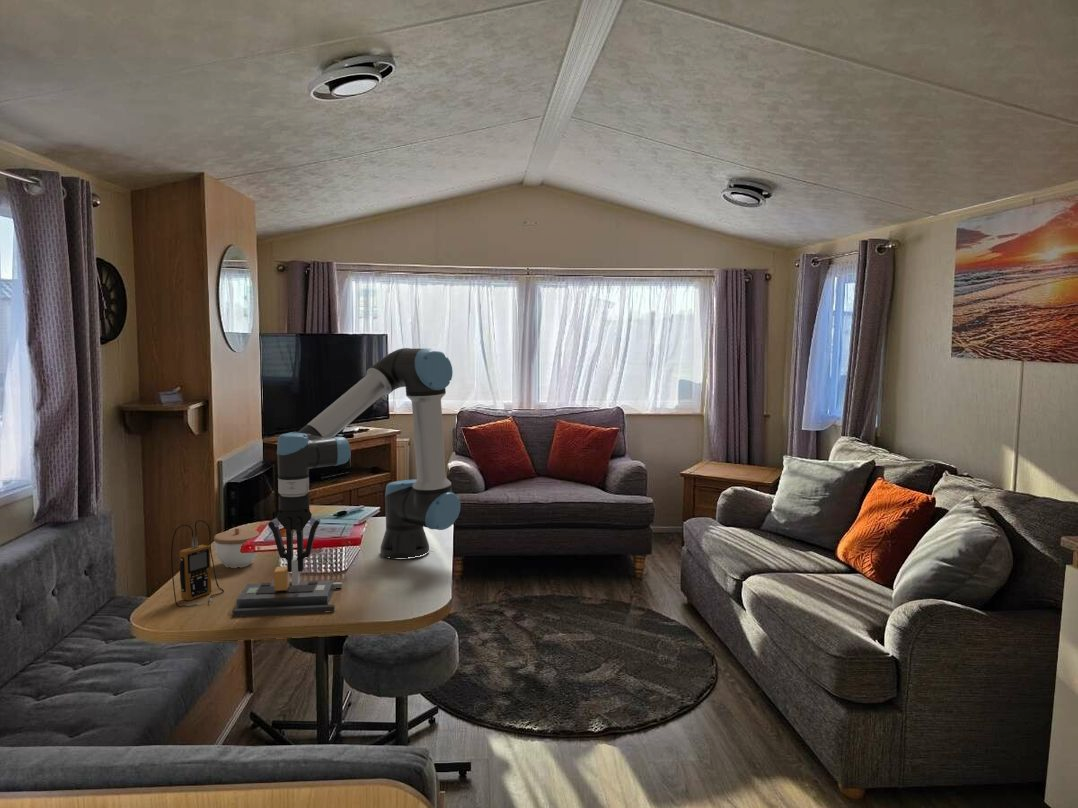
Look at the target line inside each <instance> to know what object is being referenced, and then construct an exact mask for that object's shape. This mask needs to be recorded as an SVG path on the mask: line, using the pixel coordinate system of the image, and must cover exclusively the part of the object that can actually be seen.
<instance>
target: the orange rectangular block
mask: <svg viewBox="0 0 1078 808" xmlns="http://www.w3.org/2000/svg"><path fill="white" fill-rule="evenodd" d="M289 582H290V572H288V570H287V566H276V568H275V570H274V571H273V583H274V588H275V591H280V590H287V589H288V587H289Z"/></svg>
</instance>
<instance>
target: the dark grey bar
mask: <svg viewBox="0 0 1078 808" xmlns="http://www.w3.org/2000/svg"><path fill="white" fill-rule="evenodd" d="M335 608H336V607H335V604H328V605H315V606H292V607H268V608H245V609H237V608H234V609H233V610H232V617H252V616H253V617H255V616H275V615H277V616H279V615H299V614H301V613H302V614H316V613H315V612H325V611H334V612H335V610H334V609H335ZM325 613H326V612H325Z"/></svg>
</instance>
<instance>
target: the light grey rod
mask: <svg viewBox="0 0 1078 808" xmlns="http://www.w3.org/2000/svg"><path fill="white" fill-rule="evenodd" d="M336 588H342V589H343V582H341V581H340V582H339V581H338V582H337V581H336V582H334V581H333V590H337V589H336Z"/></svg>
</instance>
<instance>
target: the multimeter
mask: <svg viewBox="0 0 1078 808" xmlns="http://www.w3.org/2000/svg"><path fill="white" fill-rule="evenodd" d="M198 522H203V523H205V524H206V526H207V527H208V531H209V532H208V534H209V535H208V536H209V537H208V539H209V541H208V542H209V545H206V544H200V545H198V544H199V543H198V536H197V523H198ZM182 527H188V528H189V529H190V530H191V547H189V548H185V549H181V550H179V551H178V552H179V554H178V555H179V581H180V582H179V583H180V593H181V594H180V595H181V597H180V598H181V599H182V600H184V601H185V600H186V601H189V602H190V601H193V600H194V599H197V598H200V597H203V596H209V595H210V594H211V593H212V571H211V570H212V567H213V575H214V579H215V583H216V586H217V588H218V589H219V588H220V589H219V590H221V589H222V591H221V592H220V593H215V594H212V595H210V596H209V601H208V603H209V605H211V603H212V597H213V596H218V595H221V594H223V593H224V592H225V590H224V589H223V588H221V587H220V586H219V584H218V580H217V575H216V569H215V564H214V558H213V555H212V553H213V552H212V545H211V528H210V526H209V523H207V522H206V521H205V520H200V519H199V520H196V522H195V523H194V529H195V542H194V530H193V528H192V526H191V525H188V524H181V525H179V526H178V527H177V528H176V529H175V531H174V533H173V536H172V542H171V547H170V548H171V553H170V556H171V557H170V558H171V559H170V560H171V561H170V563H171V564H170V567H171V576H172V588H173V594H174V601H175V602H174V603H175V605H176V607H179V608H182V607H191V606H198V605H202V604H203V605H204V602H200V603H198V602H195V603H187V604H184V605H183V604H182V605H178V603H177V598H176V588H175V581H174V570H173V569H174V568H173V547H174V541H175V539H174V538H175V537H176V536H175V535H176V533H177V530H178V529H180V528H182ZM211 561H212V564H211ZM211 566H212V567H211ZM210 602H211V603H210Z"/></svg>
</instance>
